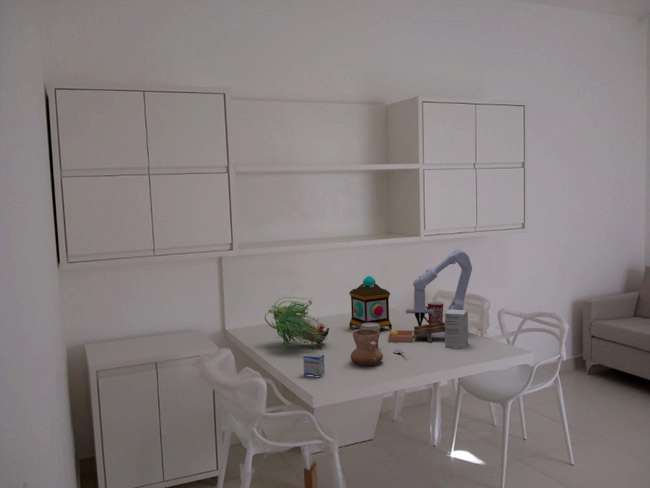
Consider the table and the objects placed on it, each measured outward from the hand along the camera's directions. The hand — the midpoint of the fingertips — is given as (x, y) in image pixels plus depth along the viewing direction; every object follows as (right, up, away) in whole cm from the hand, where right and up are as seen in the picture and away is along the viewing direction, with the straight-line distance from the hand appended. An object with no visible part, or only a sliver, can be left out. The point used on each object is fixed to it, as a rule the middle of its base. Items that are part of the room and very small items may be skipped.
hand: (420, 327), depth 294 cm
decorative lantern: (-25, -4, +16) cm, 30 cm away
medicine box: (-54, -12, -59) cm, 81 cm away
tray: (-11, -5, -6) cm, 13 cm away
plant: (-61, -8, -17) cm, 64 cm away
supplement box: (+14, -6, -22) cm, 27 cm away
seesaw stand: (+3, -5, -9) cm, 11 cm away
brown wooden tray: (+4, -1, -7) cm, 8 cm away
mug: (+10, -3, +17) cm, 20 cm away
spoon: (-14, -9, -37) cm, 40 cm away
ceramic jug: (-31, -10, -44) cm, 55 cm away
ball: (-14, -3, -6) cm, 16 cm away
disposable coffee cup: (-28, -8, -22) cm, 36 cm away
